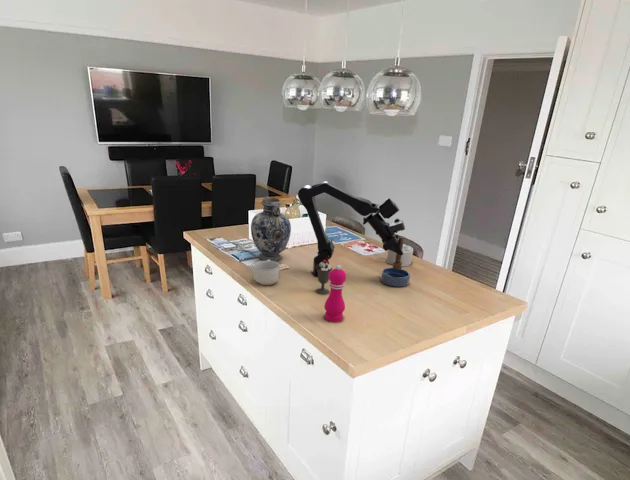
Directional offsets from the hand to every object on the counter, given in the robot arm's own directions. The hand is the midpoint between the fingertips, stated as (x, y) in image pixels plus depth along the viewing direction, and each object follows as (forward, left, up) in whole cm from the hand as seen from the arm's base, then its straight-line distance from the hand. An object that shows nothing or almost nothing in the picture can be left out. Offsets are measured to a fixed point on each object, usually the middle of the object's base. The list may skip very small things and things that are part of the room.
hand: (402, 253), depth 177 cm
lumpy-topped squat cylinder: (+14, +25, -14) cm, 32 cm away
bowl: (-1, +1, -13) cm, 14 cm away
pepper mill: (-39, -27, -14) cm, 49 cm away
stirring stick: (-1, +1, -7) cm, 7 cm away
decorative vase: (-49, +39, -14) cm, 64 cm away
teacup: (-56, +10, -14) cm, 59 cm away
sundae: (-36, -4, -14) cm, 39 cm away
